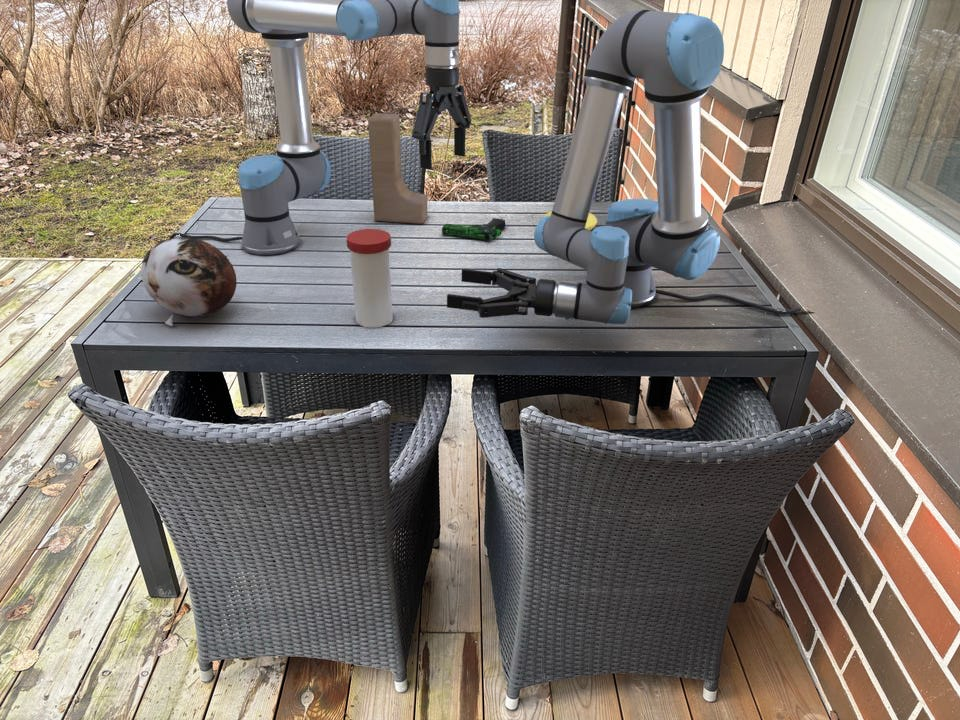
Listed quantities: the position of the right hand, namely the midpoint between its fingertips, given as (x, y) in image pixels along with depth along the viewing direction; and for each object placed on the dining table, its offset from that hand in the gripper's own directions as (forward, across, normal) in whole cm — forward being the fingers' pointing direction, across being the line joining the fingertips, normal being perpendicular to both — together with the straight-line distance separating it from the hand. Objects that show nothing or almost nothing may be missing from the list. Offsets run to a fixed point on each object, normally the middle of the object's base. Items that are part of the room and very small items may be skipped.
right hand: (454, 287), depth 151 cm
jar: (+19, +2, -11) cm, 22 cm away
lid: (+19, +1, +9) cm, 21 cm away
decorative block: (+32, +65, -10) cm, 73 cm away
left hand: (+10, +31, +18) cm, 37 cm away
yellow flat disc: (-19, +69, -9) cm, 72 cm away
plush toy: (+59, -4, -11) cm, 60 cm away
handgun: (+7, +60, -9) cm, 61 cm away
